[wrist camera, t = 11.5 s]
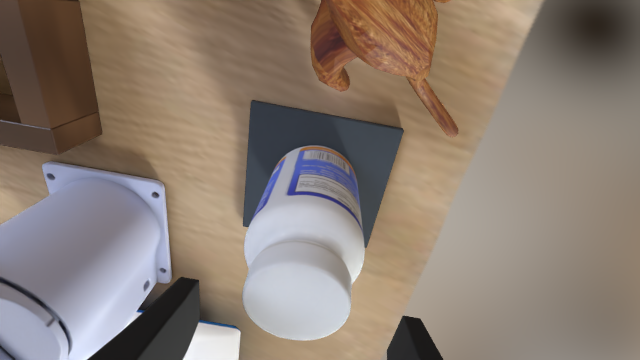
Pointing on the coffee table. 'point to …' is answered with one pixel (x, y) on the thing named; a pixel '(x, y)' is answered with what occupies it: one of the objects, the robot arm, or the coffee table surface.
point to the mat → (322, 130)
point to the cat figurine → (379, 44)
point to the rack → (46, 77)
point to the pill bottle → (304, 246)
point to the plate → (211, 341)
